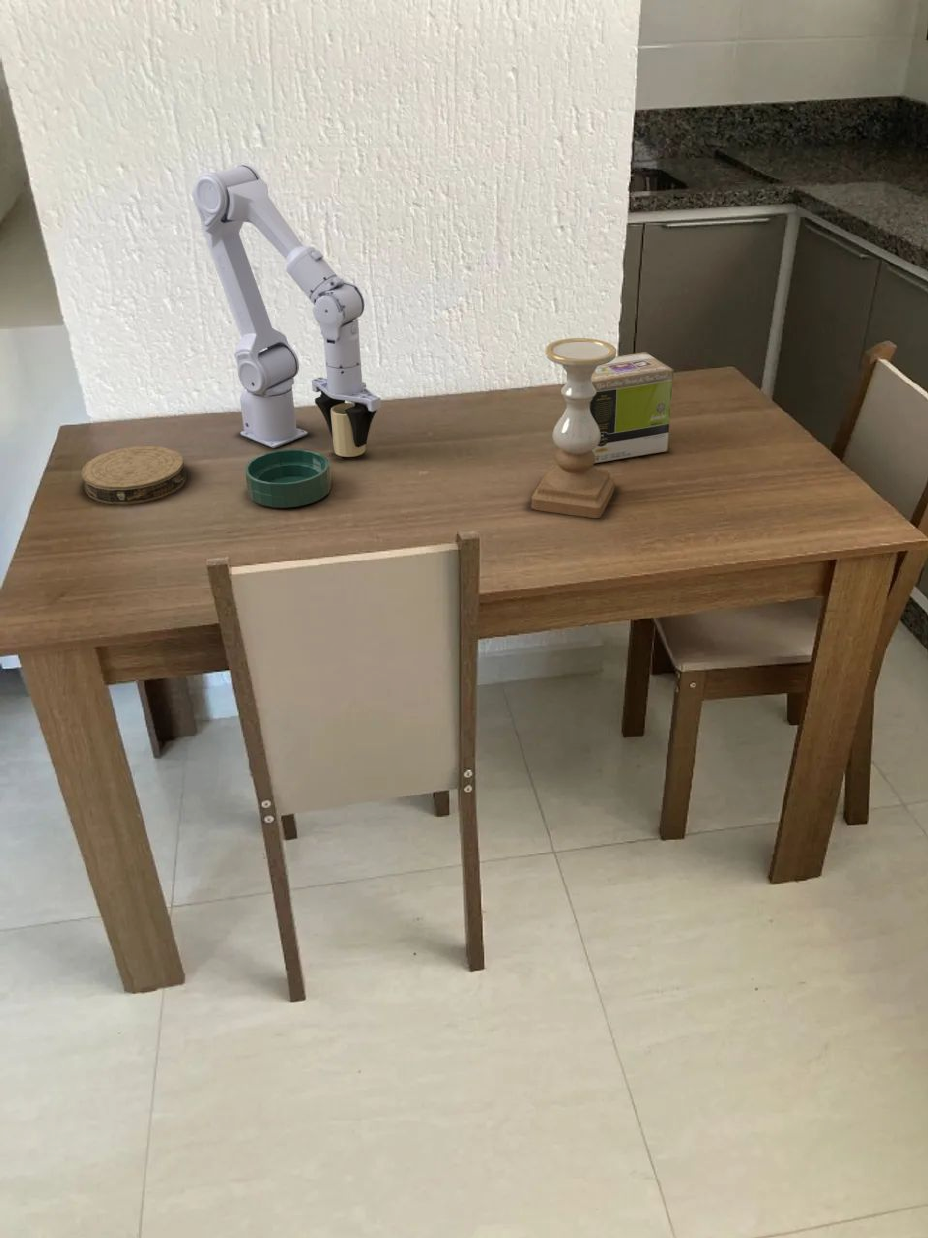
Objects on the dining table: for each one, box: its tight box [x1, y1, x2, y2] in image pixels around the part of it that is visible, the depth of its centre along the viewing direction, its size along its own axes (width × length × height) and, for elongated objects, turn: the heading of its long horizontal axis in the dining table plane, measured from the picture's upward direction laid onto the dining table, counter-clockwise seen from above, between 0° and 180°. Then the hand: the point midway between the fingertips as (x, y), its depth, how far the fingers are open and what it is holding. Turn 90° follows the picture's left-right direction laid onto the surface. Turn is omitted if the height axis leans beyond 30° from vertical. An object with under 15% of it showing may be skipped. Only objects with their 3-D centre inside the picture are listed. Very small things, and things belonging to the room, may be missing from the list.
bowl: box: [244, 448, 332, 509], centre depth 162 cm, size 13×13×4 cm
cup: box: [331, 402, 366, 458], centre depth 172 cm, size 5×5×8 cm
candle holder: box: [530, 337, 617, 519], centre depth 153 cm, size 11×11×24 cm
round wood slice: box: [81, 445, 187, 505], centre depth 166 cm, size 16×16×3 cm
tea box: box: [565, 351, 674, 464], centre depth 171 cm, size 15×10×15 cm, turn 108°
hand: (349, 440), depth 173 cm, fingers closed on cup, 5 cm apart
